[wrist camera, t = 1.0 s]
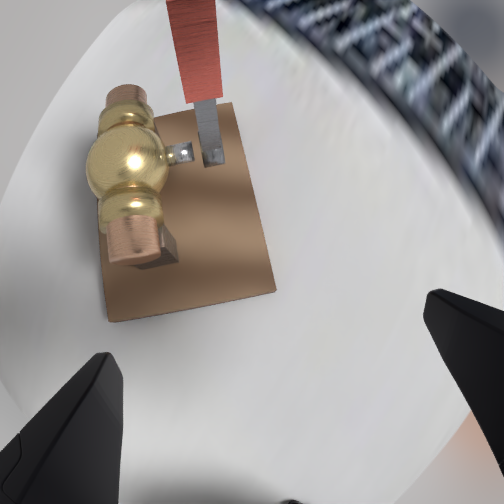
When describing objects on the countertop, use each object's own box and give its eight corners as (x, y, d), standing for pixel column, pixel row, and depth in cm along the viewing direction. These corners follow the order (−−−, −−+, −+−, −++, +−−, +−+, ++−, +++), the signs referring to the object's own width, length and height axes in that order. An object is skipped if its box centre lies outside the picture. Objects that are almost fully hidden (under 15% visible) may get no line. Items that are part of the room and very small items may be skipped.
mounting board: (274, 292, 23) (276, 290, 21) (114, 322, 22) (108, 322, 21) (232, 110, 26) (231, 102, 25) (102, 140, 25) (97, 133, 24)
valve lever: (229, 170, 18) (214, -7, 8) (202, 176, 18) (165, 1, 8) (223, 142, 19) (207, -25, 8) (197, 147, 19) (165, -18, 8)
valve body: (217, 264, 22) (203, 227, 14) (128, 282, 21) (71, 256, 13) (193, 132, 24) (177, 58, 16) (118, 150, 24) (79, 86, 16)
